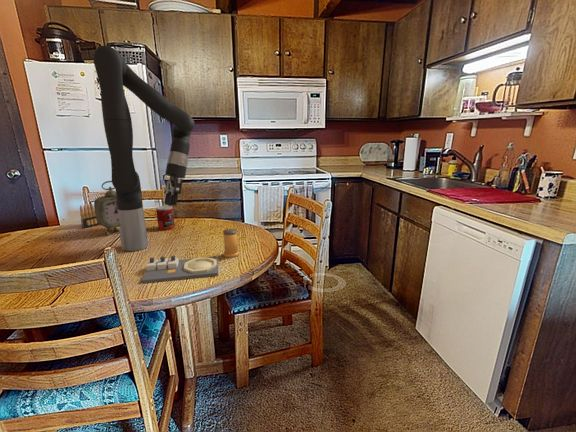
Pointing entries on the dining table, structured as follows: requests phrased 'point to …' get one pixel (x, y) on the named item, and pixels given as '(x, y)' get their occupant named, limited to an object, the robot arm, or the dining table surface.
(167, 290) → the dining table surface
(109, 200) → the tabletop clock
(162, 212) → the canned food
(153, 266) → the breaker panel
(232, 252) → the cap
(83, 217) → the ammunition clip
